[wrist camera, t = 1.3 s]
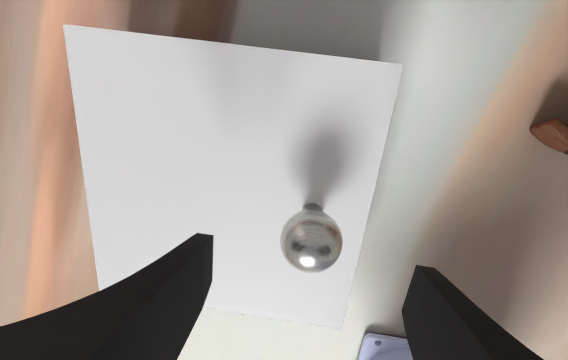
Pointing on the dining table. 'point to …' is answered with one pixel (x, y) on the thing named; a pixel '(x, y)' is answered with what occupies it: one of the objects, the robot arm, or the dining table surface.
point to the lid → (231, 163)
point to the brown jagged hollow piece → (552, 134)
